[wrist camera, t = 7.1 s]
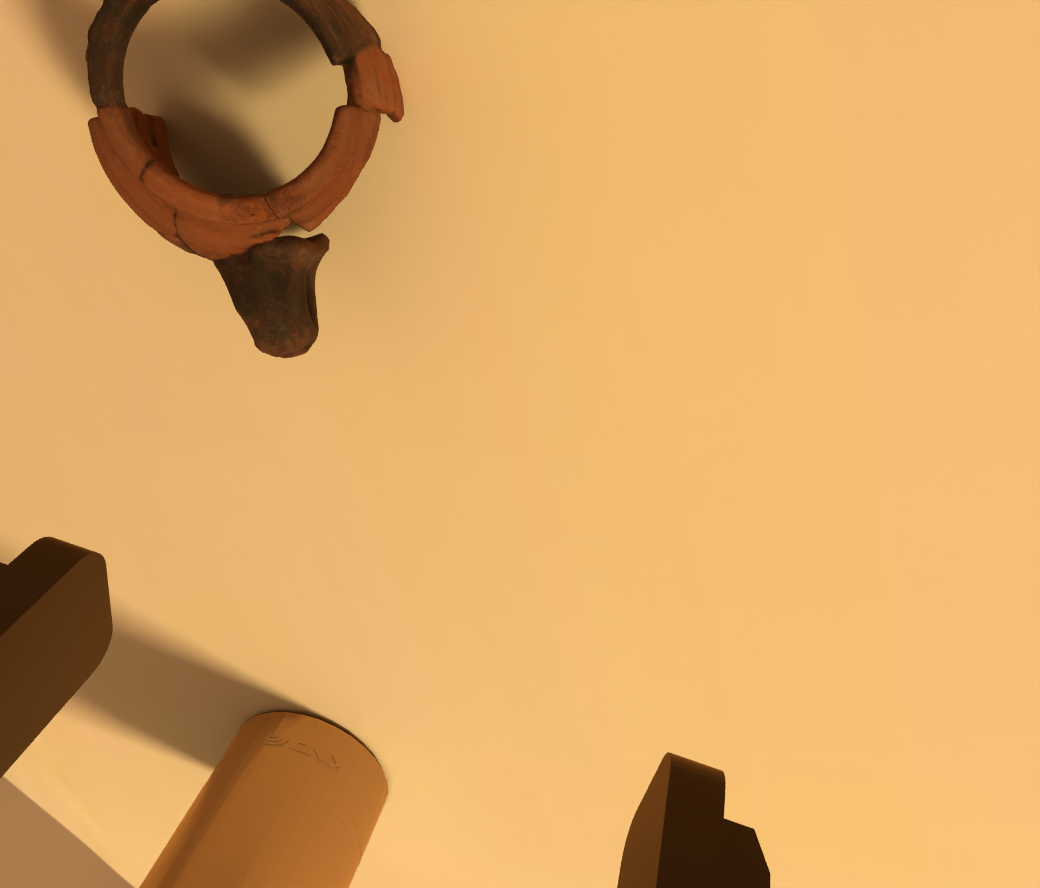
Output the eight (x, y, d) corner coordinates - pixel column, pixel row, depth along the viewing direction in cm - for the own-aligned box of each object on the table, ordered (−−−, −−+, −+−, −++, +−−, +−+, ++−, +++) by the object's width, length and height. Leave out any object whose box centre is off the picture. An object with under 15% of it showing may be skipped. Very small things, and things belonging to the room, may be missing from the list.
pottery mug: (97, 42, 30) (-15, -48, 22) (361, -23, 31) (348, -133, 22) (213, 374, 32) (152, 404, 24) (455, 306, 33) (473, 313, 25)
